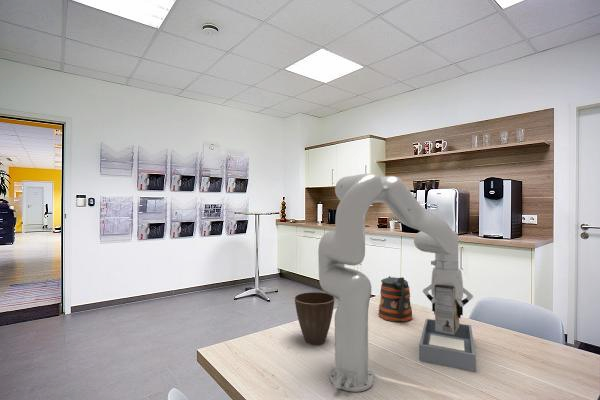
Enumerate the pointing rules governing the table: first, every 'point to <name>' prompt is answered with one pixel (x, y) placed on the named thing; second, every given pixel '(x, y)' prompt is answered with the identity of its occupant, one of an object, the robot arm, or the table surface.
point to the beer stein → (395, 300)
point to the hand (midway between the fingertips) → (447, 314)
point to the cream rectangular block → (447, 343)
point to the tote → (446, 355)
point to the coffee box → (446, 309)
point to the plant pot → (314, 315)
